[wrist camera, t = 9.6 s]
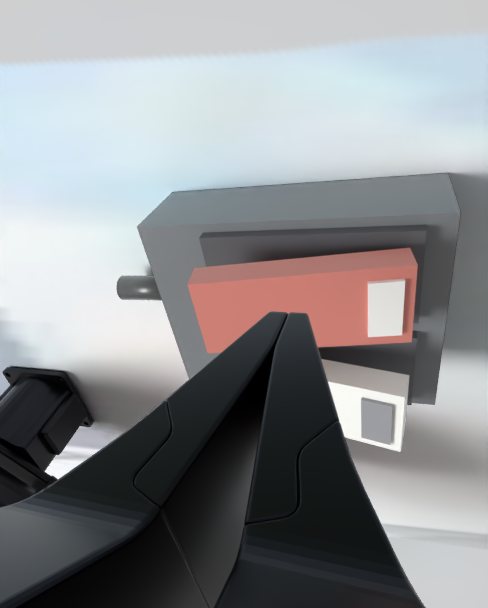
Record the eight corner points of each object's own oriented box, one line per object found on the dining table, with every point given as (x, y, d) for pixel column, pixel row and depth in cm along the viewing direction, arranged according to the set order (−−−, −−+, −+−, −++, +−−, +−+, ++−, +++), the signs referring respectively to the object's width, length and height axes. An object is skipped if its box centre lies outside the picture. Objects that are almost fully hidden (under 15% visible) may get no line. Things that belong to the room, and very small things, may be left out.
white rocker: (244, 391, 22) (232, 410, 21) (232, 342, 20) (219, 361, 19) (404, 429, 18) (400, 455, 18) (409, 375, 17) (404, 400, 16)
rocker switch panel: (158, 335, 29) (127, 384, 25) (106, 196, 23) (57, 234, 19) (428, 349, 23) (435, 413, 20) (448, 172, 18) (462, 219, 14)
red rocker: (212, 334, 18) (206, 355, 17) (194, 268, 16) (186, 286, 15) (405, 322, 17) (412, 344, 16) (410, 247, 15) (418, 267, 14)
